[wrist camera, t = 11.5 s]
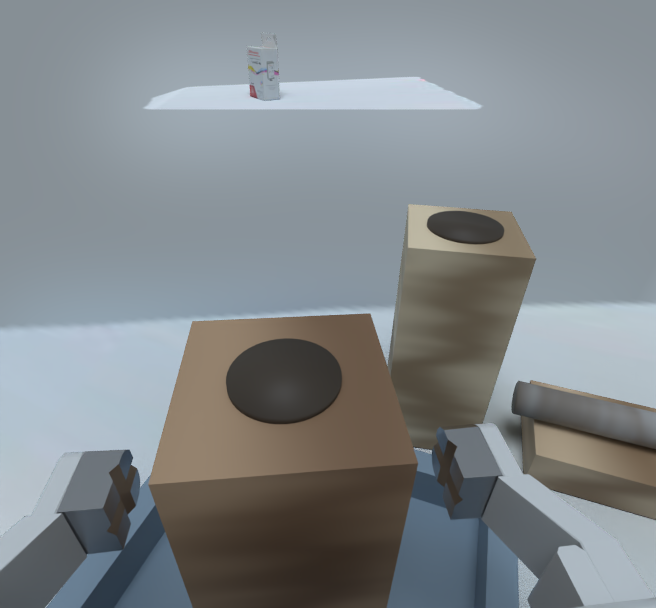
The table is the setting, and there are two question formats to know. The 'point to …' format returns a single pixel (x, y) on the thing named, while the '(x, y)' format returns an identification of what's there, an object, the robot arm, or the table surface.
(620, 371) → the table surface
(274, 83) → the ink cartridge box
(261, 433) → the walnut block
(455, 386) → the oak block
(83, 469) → the robot arm
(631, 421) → the gauge rest
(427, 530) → the tray
